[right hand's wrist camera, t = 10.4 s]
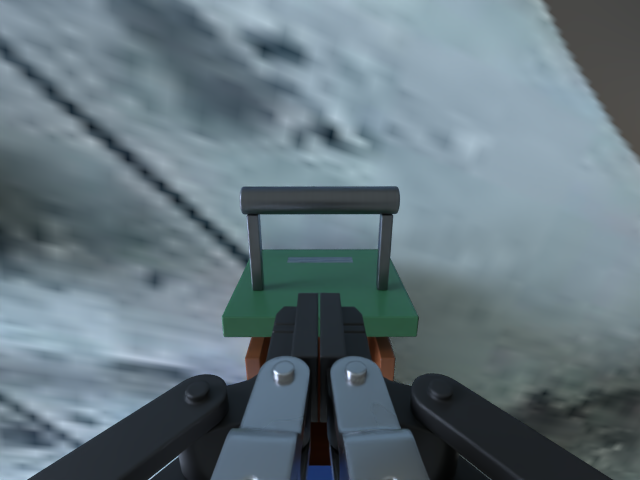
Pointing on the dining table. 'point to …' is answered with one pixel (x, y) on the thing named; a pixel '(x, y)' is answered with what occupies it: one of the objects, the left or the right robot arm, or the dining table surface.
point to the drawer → (320, 280)
